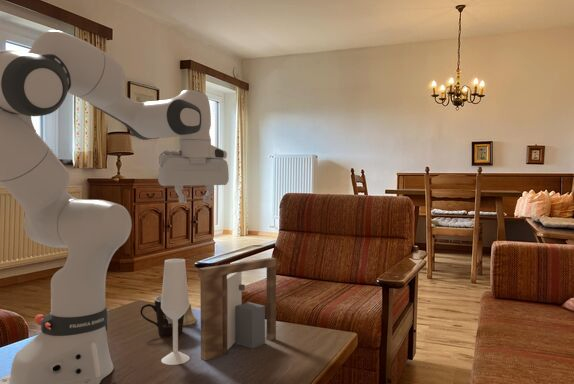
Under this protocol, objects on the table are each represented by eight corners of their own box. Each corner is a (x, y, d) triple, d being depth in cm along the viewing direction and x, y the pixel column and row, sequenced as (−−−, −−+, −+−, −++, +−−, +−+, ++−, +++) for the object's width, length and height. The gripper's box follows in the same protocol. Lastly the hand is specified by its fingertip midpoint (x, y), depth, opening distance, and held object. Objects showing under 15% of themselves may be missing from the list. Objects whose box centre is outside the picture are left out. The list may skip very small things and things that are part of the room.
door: (232, 350, 117) (232, 279, 116) (222, 349, 117) (222, 278, 117) (245, 334, 128) (245, 270, 128) (236, 334, 129) (236, 269, 128)
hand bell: (202, 320, 143) (202, 268, 142) (183, 327, 136) (183, 273, 135) (183, 316, 147) (182, 266, 147) (163, 323, 140) (163, 270, 140)
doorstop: (252, 348, 119) (252, 310, 119) (235, 343, 123) (235, 305, 123) (264, 343, 123) (264, 305, 123) (248, 338, 127) (248, 302, 127)
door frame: (202, 361, 111) (202, 269, 110) (198, 358, 112) (198, 268, 112) (276, 339, 126) (276, 258, 126) (271, 337, 128) (271, 257, 127)
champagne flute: (180, 351, 117) (180, 257, 116) (194, 359, 112) (194, 260, 111) (156, 358, 112) (155, 260, 112) (169, 367, 108) (168, 264, 107)
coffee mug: (190, 328, 135) (189, 294, 135) (180, 339, 126) (180, 302, 126) (151, 327, 136) (151, 293, 136) (139, 337, 127) (138, 301, 127)
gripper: (164, 149, 118) (165, 204, 118) (231, 152, 131) (231, 201, 132) (153, 150, 122) (154, 203, 123) (219, 153, 136) (219, 200, 136)
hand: (194, 202), depth 127 cm, fingers open, 6 cm apart
